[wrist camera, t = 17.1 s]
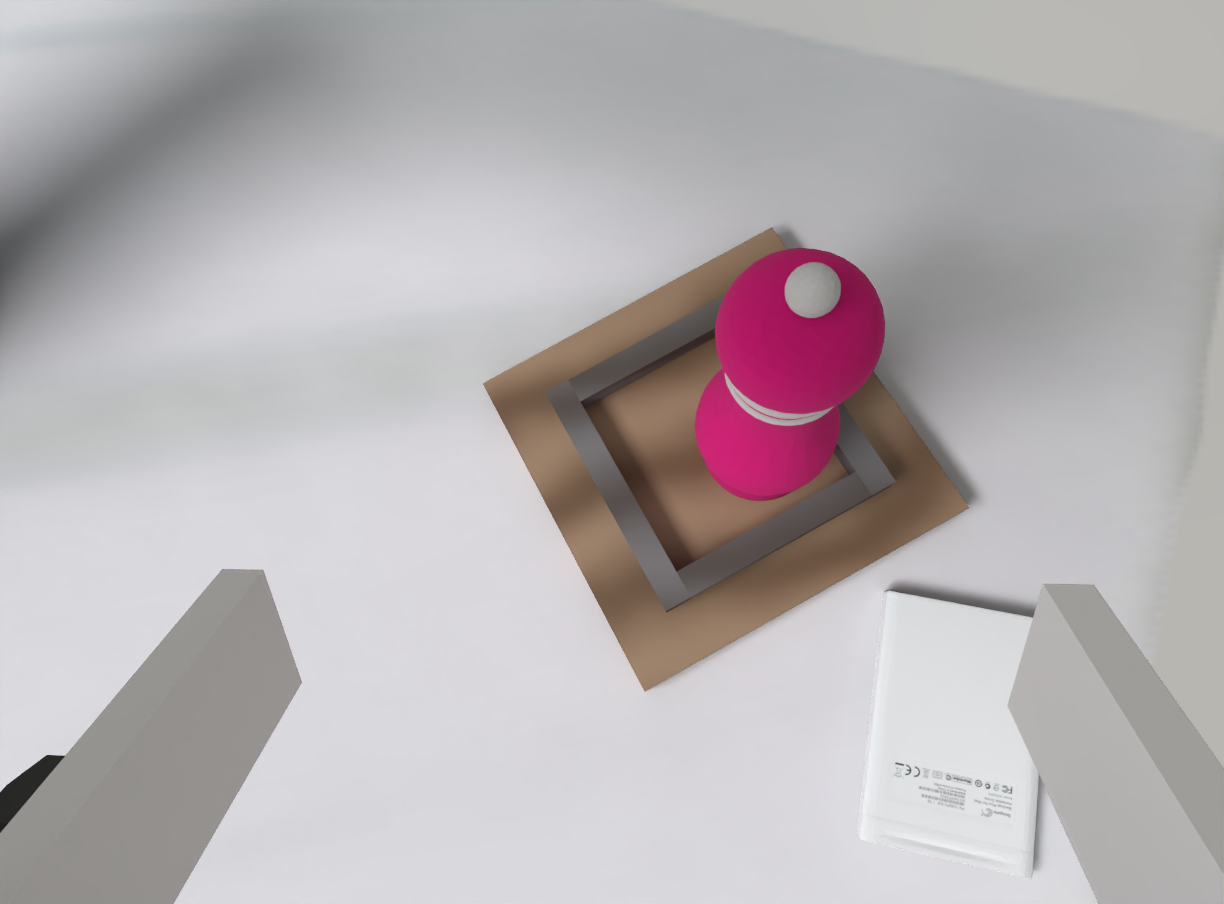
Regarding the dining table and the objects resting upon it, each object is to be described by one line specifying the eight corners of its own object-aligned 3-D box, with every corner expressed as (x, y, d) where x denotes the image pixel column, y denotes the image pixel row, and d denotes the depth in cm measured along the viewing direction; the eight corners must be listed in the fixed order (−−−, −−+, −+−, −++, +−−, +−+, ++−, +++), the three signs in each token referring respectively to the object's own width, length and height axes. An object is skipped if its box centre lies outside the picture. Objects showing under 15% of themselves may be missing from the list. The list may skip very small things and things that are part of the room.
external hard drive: (1036, 621, 41) (1021, 872, 38) (880, 592, 42) (853, 833, 39) (1050, 620, 39) (1036, 881, 36) (887, 589, 41) (860, 840, 38)
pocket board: (487, 390, 47) (476, 375, 44) (769, 237, 48) (774, 214, 45) (645, 690, 41) (643, 692, 39) (961, 511, 42) (978, 502, 40)
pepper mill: (816, 519, 42) (928, 401, 23) (684, 499, 43) (685, 369, 24) (830, 395, 44) (944, 188, 24) (703, 379, 44) (717, 166, 25)
